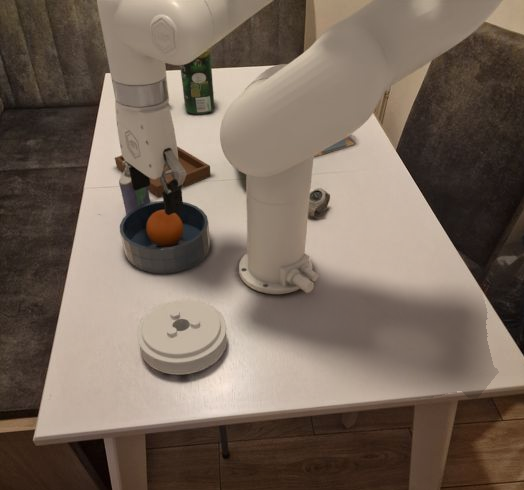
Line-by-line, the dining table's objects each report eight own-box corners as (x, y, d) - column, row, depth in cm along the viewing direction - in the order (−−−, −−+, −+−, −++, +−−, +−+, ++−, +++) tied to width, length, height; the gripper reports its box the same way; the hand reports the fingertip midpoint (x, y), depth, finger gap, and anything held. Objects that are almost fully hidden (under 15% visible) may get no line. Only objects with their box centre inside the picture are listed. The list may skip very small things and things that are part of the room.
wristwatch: (302, 216, 95) (304, 193, 91) (319, 203, 98) (321, 180, 95) (317, 222, 94) (319, 199, 90) (334, 209, 97) (337, 186, 93)
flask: (138, 227, 92) (127, 174, 84) (124, 226, 92) (111, 173, 85) (153, 202, 98) (143, 150, 90) (139, 201, 99) (128, 149, 91)
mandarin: (192, 244, 87) (188, 213, 82) (162, 258, 84) (156, 227, 80) (172, 229, 90) (167, 198, 86) (142, 242, 88) (136, 211, 83)
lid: (134, 378, 67) (127, 354, 64) (148, 316, 76) (142, 291, 72) (225, 378, 67) (223, 355, 64) (229, 316, 76) (227, 291, 72)
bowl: (226, 249, 88) (225, 225, 84) (155, 285, 81) (150, 261, 77) (178, 214, 95) (175, 191, 92) (109, 244, 88) (103, 221, 85)
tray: (210, 176, 106) (209, 165, 104) (158, 197, 100) (156, 186, 98) (167, 149, 114) (166, 139, 112) (116, 168, 108) (114, 157, 106)
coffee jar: (183, 102, 133) (174, 23, 119) (212, 100, 134) (206, 21, 120) (186, 116, 127) (177, 34, 113) (216, 114, 128) (211, 33, 114)
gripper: (87, 78, 71) (111, 185, 83) (152, 117, 62) (168, 230, 75) (131, 67, 74) (148, 172, 87) (199, 102, 66) (206, 213, 78)
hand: (157, 199), depth 81 cm, fingers open, 9 cm apart
